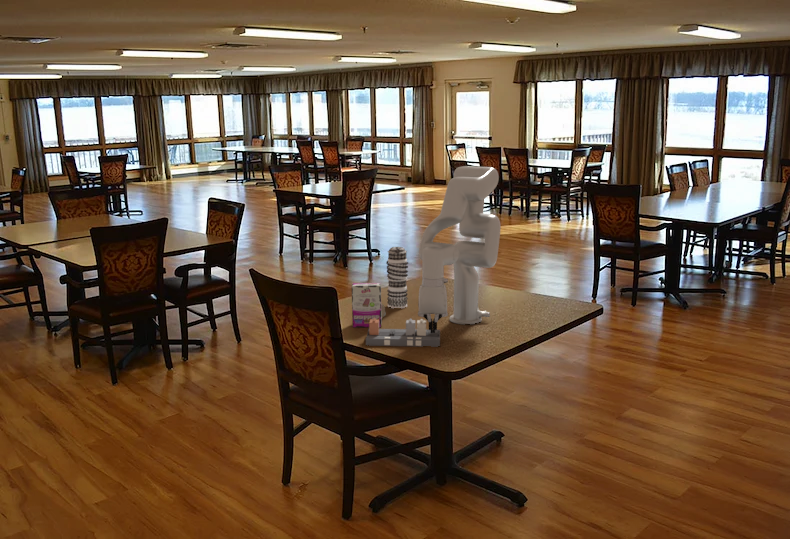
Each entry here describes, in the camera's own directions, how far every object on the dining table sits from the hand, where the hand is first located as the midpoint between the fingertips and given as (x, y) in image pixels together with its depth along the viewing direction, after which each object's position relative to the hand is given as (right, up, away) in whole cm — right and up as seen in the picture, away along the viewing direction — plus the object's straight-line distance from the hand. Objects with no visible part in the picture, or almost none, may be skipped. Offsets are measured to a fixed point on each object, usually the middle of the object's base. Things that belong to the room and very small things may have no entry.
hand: (432, 331), depth 259 cm
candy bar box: (-24, 0, +20) cm, 31 cm away
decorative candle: (-12, +7, +48) cm, 50 cm away
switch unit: (-10, -3, +1) cm, 11 cm away
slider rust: (-21, -1, +1) cm, 21 cm away
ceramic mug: (-22, +3, +30) cm, 37 cm away
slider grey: (-8, -1, +1) cm, 8 cm away
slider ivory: (-4, -1, 0) cm, 4 cm away
